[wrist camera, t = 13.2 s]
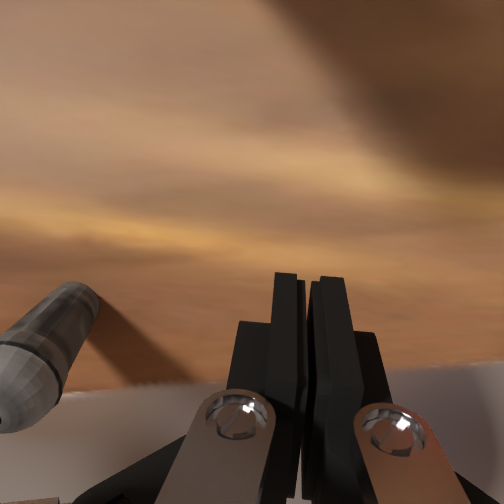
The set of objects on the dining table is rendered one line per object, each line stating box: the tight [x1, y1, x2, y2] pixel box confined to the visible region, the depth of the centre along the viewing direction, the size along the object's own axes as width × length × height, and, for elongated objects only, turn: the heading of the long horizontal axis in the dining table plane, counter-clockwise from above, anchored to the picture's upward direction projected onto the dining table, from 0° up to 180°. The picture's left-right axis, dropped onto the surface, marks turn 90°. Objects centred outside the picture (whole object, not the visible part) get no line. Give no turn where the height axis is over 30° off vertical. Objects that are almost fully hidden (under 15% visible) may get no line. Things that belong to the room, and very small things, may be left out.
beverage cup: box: [0, 282, 100, 434], centre depth 38 cm, size 7×7×20 cm
